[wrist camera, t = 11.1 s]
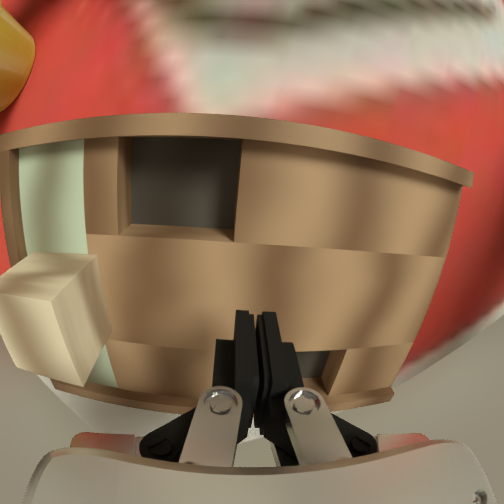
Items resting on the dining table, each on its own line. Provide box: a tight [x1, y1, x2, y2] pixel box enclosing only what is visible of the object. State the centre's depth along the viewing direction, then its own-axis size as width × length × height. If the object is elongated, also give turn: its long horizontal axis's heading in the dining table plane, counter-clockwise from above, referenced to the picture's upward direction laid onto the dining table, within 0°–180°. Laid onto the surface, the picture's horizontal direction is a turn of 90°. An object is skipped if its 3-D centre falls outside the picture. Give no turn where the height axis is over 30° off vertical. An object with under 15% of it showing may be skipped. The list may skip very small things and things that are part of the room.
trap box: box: [0, 113, 474, 417], centre depth 16 cm, size 28×19×3 cm
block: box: [0, 252, 113, 387], centre depth 12 cm, size 5×5×5 cm
